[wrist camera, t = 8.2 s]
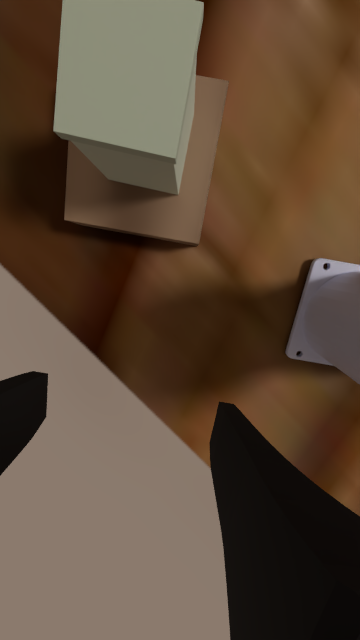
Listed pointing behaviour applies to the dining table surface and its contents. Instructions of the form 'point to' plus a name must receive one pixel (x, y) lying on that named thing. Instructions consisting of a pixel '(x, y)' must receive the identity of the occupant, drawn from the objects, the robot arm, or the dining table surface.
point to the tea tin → (129, 86)
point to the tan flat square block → (147, 204)
